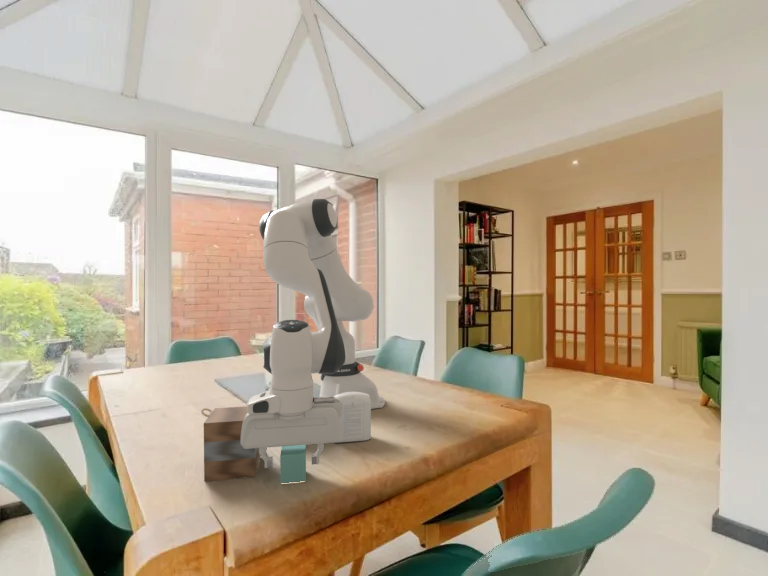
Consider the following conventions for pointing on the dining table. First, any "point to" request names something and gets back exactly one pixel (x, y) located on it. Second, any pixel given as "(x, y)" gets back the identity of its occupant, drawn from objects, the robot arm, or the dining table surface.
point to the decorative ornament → (207, 410)
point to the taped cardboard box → (227, 446)
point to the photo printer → (355, 416)
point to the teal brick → (293, 463)
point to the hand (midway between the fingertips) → (292, 465)
